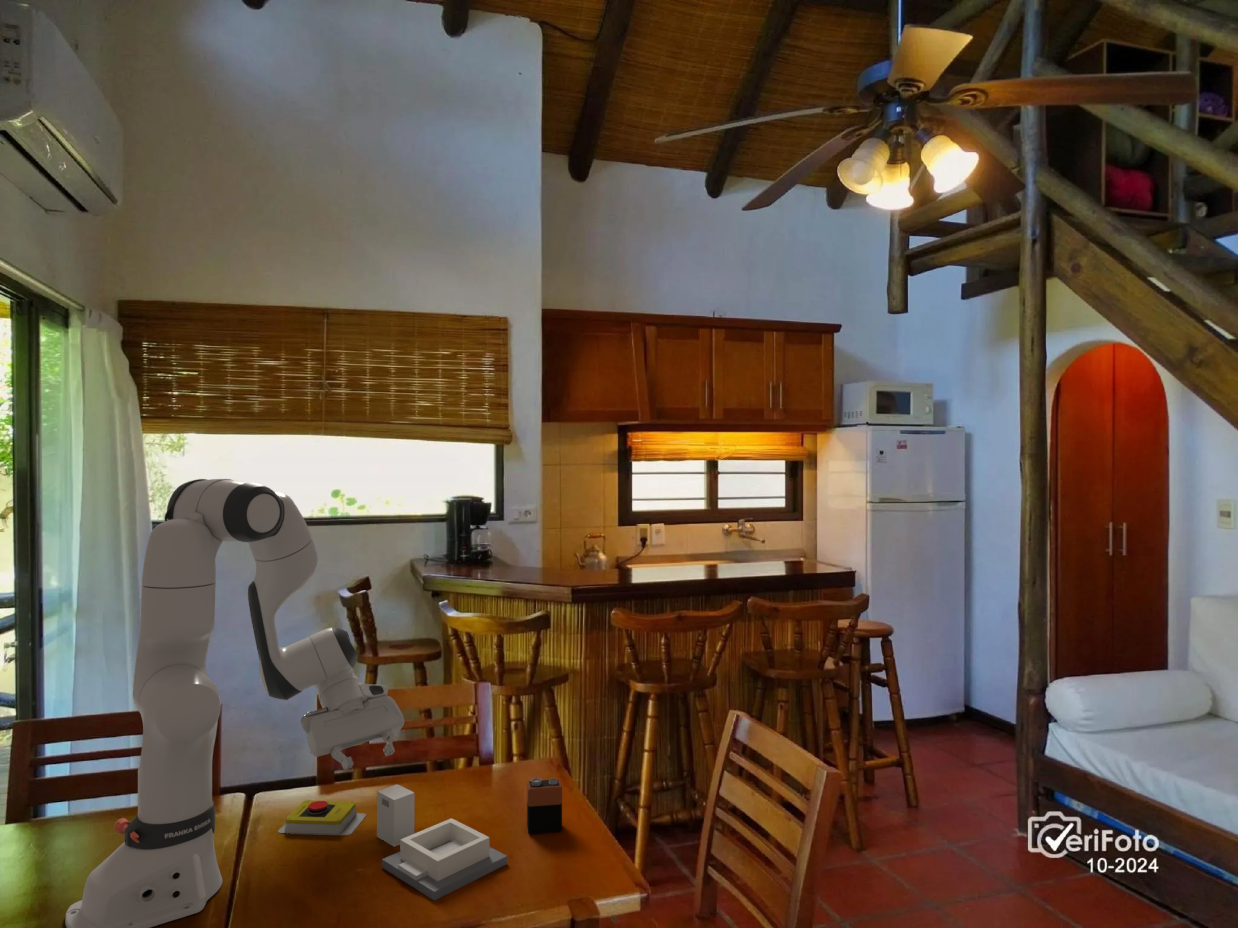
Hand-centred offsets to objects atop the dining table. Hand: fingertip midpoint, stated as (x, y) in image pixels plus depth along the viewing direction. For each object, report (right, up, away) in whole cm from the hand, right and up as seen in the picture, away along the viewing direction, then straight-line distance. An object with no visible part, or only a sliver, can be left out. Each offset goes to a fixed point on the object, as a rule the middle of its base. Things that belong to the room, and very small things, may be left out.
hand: (370, 760), depth 160 cm
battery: (+36, -13, -2) cm, 38 cm away
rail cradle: (+19, -13, -17) cm, 28 cm away
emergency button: (-9, -13, 0) cm, 16 cm away
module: (+7, -13, -6) cm, 16 cm away
